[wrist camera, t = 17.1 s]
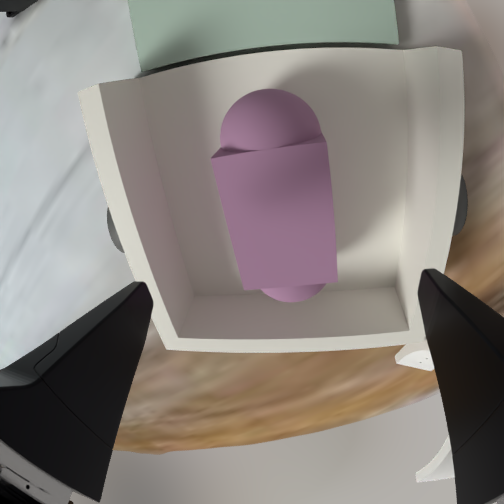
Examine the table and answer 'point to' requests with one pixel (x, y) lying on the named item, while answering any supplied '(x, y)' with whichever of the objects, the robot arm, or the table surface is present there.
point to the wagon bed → (342, 180)
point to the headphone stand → (443, 461)
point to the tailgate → (252, 26)
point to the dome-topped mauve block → (277, 195)
